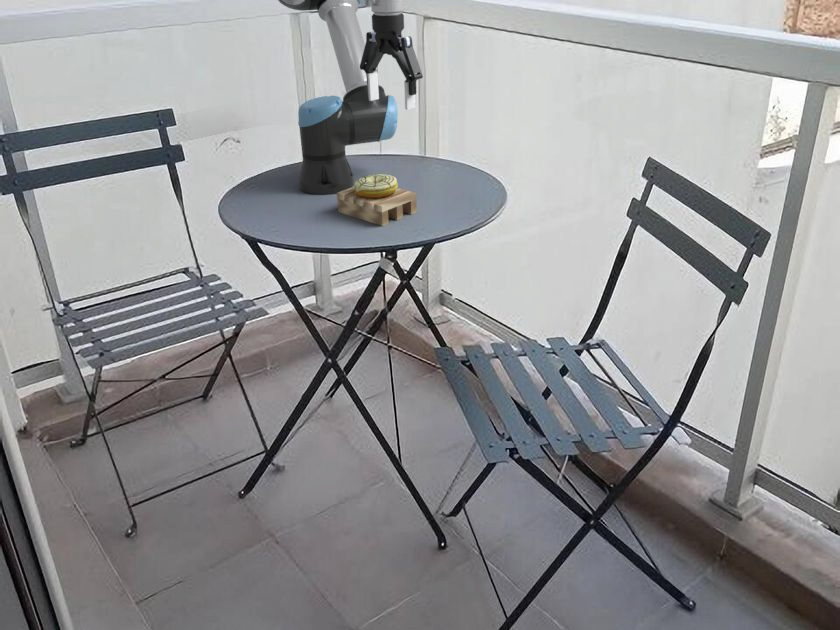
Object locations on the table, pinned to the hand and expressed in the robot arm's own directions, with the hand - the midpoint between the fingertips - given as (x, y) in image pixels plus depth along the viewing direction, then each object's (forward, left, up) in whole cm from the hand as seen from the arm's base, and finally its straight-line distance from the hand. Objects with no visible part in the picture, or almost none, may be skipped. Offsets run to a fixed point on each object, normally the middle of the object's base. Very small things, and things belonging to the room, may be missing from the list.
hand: (391, 104), depth 201 cm
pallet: (+3, -10, -25) cm, 27 cm away
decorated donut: (+3, -9, -20) cm, 22 cm away
